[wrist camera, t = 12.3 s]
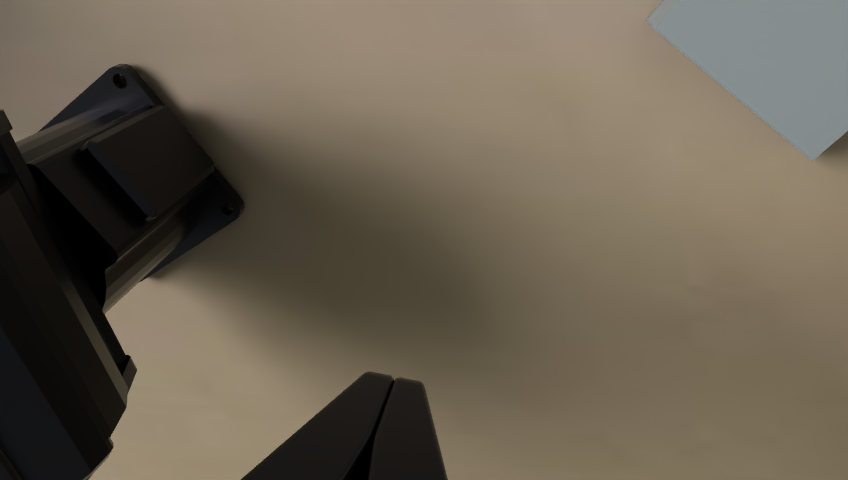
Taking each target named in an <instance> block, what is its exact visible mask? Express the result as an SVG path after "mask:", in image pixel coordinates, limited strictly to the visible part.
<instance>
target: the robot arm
mask: <svg viewBox="0 0 848 480" xmlns="http://www.w3.org/2000/svg"><path fill="white" fill-rule="evenodd" d="M120 74H121V75H123V76H124V77H125V79H126V81H127V86H126V85H124V84H123V83H122V82H121V80H120ZM12 129H13V128H12V126H11V124H10V122H9V120H8V118H7V116H6V114H5V112H4V110H3V109H2V110H0V480H88V479H89V478H90V477H91V476H92V474H93V473H94V472H95V471H96V470H97V469H98V468H99V467H100V465H101V464H102V463H103V462H104V461H105V460H106V459H107V458H108V456H109V454H110V452H111V450H112V449H113V442H112V440H111V438H110V437H111V434H112V433H113V431H114V429H115V427H116V425H117V424H118V422H119V420H120V418H121V416H122V414H123V413H124V411H125V409H126V406H127V394H128V392H129V389H130V387H131V384H132V382H133V379H134V377H135V374H136V372H137V368H136V366H135V365H134V363H133V361H132V359H131V357H130V356H129V355H125V353H124V351H123V349H122V347H121V345H120V343H119V341H118V339H117V338H116V336H115V334H114V332H113V330H112V328H111V326H110V324H109V322H108V320H107V318H106V316H105V313H106V312H107V311H108V310H109V309H110V308H111V307H112V306H114V305H115V304H116V303H117V302H118V301H119V300H120V299H121V298H122V297H123V296H124V295H125V294H126V293H128V292H129V291H130V290H131V289H132V288H133V287H134V286H135V285H136V284H137V283H138V282H141V281H143V280H144V279H146V278H147V277H149V276H150V275H152V274H153V273H155V272H156V271H158V270H159V269H161V268H162V267H164V266H165V265H167V264H169V263H170V262H172V261H173V260H175V259H176V258H178V257H179V256H181V255H182V254H184V253H185V252H187V251H188V250H190V249H192V248H193V247H195V246H196V245H198V244H199V243H201V242H202V241H204V240H205V239H207V238H208V237H210V236H211V235H213V234H215V233H216V232H218V231H219V230H221V229H222V228H224V227H225V226H227V225H228V224H230V223H231V222H233V221H234V220H236V219H237V218H238V217H239V216H240V215H241V214H242V213H243V211H244V208H245V207H244V202H243V200H242V199H241V197H240V196H239V195H238V194H237V192H236V191H235V190H234V189H233V188H232V186H231V185H230V184H229V183H228V182H227V180H226V179H225V178H224V177H223V175H222V174H221V173H220V172H219V171H218V169H217V168H216V167H215V166H214V165H213V161H212V160H211V159H210V158H209V157H208V155H207V154H206V153H205V152H204V151H203V149H202V148H201V147H200V146H199V144H198V143H197V142H196V141H195V140H194V138H193V137H192V136H191V135H190V134H189V132H188V131H187V130H186V129H185V127H184V126H183V125H182V124H181V123H180V121H179V120H178V119H177V118H176V117H175V115H174V114H173V113H172V112H171V111H170V109H169V108H168V107H166V106H165V105H164V104H163V103H162V102H161V100H160V99H159V98H158V97H157V96H156V94H155V93H154V92H153V91H152V90H151V88H150V87H149V86H148V85H147V83H146V82H145V81H144V80H143V79H142V77H141V76H140V75H139V74H138V73H137V71H136V70H135V69H134V68H132V67H131V66H129V65H127V64H119V65H116V66H114V67H112V68H110V69H108V70H107V71H106V72H105V73H104V74H103V75H102V76H100V77H99V78H98V79H97V80H96V81H95V82H94V83H93V84H91V85H90V86H89V87H88V88H87V89H86V90H85V91H84V92H83V93H81V94H80V95H79V96H78V97H77V98H76V99H75V100H74V101H72V102H71V103H70V104H69V105H68V106H67V107H66V108H65V109H63V110H62V111H61V112H60V113H59V114H58V115H57V116H56V117H54V118H53V119H52V120H51V121H50V122H49V123H48V124H47V125H45V126H44V127H43V128H42V129H41V130H40V131H39V132H38V133H36V134H34V135H31V136H29V137H27V138H25V139H22V140H20V141H18V142H16V143H15V141H14V139H13V137H12V135H11V133H10V130H12ZM225 202H226V203H229V204H231V205H232V207H233V209H234V211H233V210H229V209H228V208H227V207H226V205H225ZM241 480H448V479H447V475H446V471H445V467H444V463H443V459H442V455H441V451H440V447H439V443H438V439H437V435H436V431H435V427H434V423H433V419H432V415H431V411H430V407H429V403H428V398H427V394H426V390H425V387H424V385H423V383H422V382H420V381H415V380H410V379H405V378H396V379H395V381H394V379H393V377H392V376H390V375H385V374H379V373H374V372H366V373H364V374H363V375H362V376H361V377H359V378H358V379H357V380H356V381H355V382H354V383H352V384H351V385H350V386H349V387H348V388H347V389H345V390H344V391H343V392H342V393H341V394H340V395H338V396H337V397H336V398H335V399H334V400H333V401H332V402H330V403H329V404H328V405H327V406H326V407H325V408H323V409H322V410H321V411H320V412H319V413H318V414H316V415H315V416H314V417H313V418H312V419H311V420H309V421H308V422H307V423H306V424H305V425H304V426H302V427H301V428H300V429H299V430H298V431H297V432H296V433H294V434H293V435H292V436H291V437H290V438H289V439H287V440H286V441H285V442H284V443H283V444H282V445H280V446H279V447H278V448H277V449H276V450H275V451H273V452H272V453H271V454H270V455H269V456H268V457H266V458H265V459H264V460H263V461H262V462H261V463H260V464H258V465H257V466H256V467H255V468H254V469H253V470H251V471H250V472H249V473H248V474H247V475H246V476H244V477H243V478H242V479H241Z"/></svg>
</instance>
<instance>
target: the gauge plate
mask: <svg viewBox="0 0 848 480" xmlns="http://www.w3.org/2000/svg"><path fill="white" fill-rule="evenodd" d="M646 21H647V22H648V24H649V25H650V26H651V27H652V28H653V29H654V30H655V31H657V32H658V33H659V34H660V35H661V36H663V37H664V38H665V39H666V40H667V41H669V42H670V43H671V44H672V45H673V46H675V47H676V48H677V49H678V50H679V51H681V52H682V53H683V54H684V55H685V56H687V57H688V58H689V59H690V60H691V61H693V62H694V63H695V64H696V65H697V66H699V67H700V68H701V69H702V70H703V71H705V72H706V73H707V74H708V75H709V76H711V77H712V78H713V79H714V80H715V81H717V82H718V83H719V84H720V85H721V86H723V87H724V88H725V89H726V90H727V91H729V92H730V93H731V94H732V95H733V96H735V97H736V98H737V99H738V100H739V101H741V102H742V103H743V104H744V105H745V106H747V107H748V108H749V109H750V110H751V111H753V112H754V113H755V114H756V115H757V116H759V117H760V118H761V119H762V120H763V121H765V122H766V123H767V124H768V125H769V126H771V127H772V128H773V129H774V130H775V131H777V132H778V133H779V134H780V135H781V136H783V137H784V138H785V139H786V140H787V141H789V142H790V143H791V144H792V145H793V146H794V147H796V148H797V149H798V150H799V151H800V152H802V153H803V154H804V155H805V156H806V157H808V158H809V159H810V160H811V161H813V160H814V159H815V158H817V157H818V156H819V155H820V154H821V153H822V152H824V151H825V150H826V149H827V148H828V147H829V146H831V145H832V144H833V143H834V142H835V141H837V140H838V139H839V138H840V137H841V136H842V135H844V134H845V133H846V132H847V131H848V0H663V1H662V3H661V4H660V5H659V6H658V7H657V8H656V9H655V11H654V12H653V13H652V14H651V15H650V16H649V17H648V19H647V20H646Z"/></svg>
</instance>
